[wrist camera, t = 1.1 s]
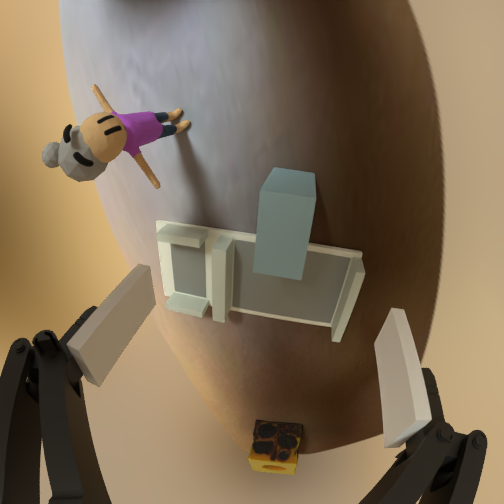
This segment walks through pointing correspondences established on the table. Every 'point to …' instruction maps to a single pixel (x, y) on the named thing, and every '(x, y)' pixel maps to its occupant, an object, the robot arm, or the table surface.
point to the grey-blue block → (284, 223)
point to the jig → (254, 278)
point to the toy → (108, 140)
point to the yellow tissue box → (275, 447)
